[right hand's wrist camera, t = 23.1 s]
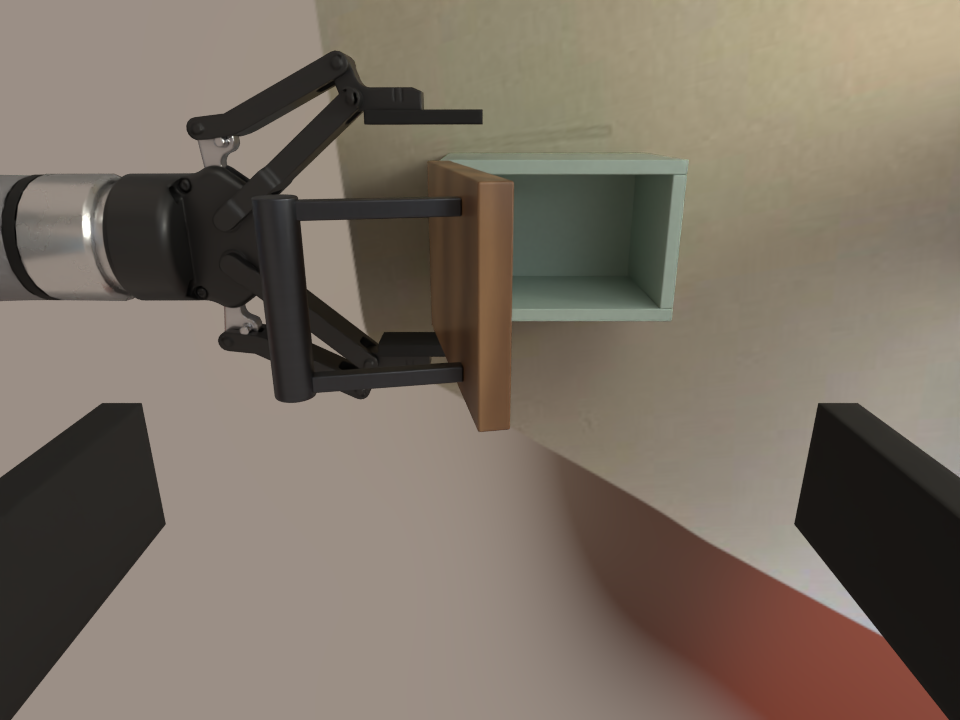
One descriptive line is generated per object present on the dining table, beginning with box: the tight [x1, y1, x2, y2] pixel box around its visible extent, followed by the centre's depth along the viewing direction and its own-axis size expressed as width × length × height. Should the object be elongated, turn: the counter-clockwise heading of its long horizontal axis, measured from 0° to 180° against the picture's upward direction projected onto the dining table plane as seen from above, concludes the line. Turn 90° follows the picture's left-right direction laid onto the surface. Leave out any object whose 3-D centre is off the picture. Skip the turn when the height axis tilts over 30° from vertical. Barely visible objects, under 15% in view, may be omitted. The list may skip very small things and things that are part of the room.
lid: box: [251, 160, 514, 432], centre depth 28 cm, size 14×9×9 cm
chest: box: [440, 153, 689, 321], centre depth 41 cm, size 14×9×10 cm
